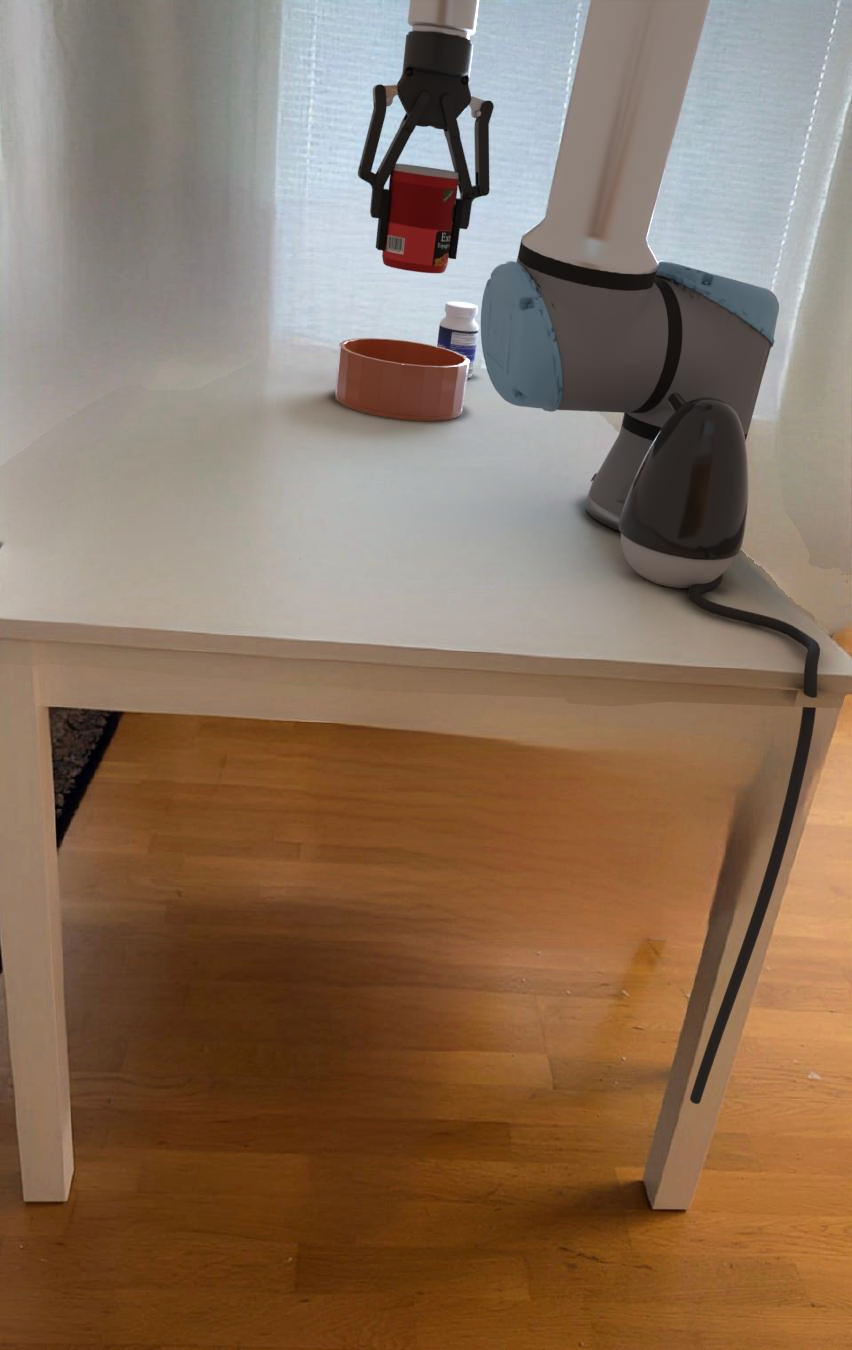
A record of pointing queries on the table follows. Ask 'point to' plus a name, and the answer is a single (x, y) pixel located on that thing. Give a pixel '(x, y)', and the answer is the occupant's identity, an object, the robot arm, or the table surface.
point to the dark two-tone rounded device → (688, 496)
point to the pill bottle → (460, 330)
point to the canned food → (420, 218)
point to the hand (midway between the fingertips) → (415, 253)
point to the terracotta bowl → (401, 379)
